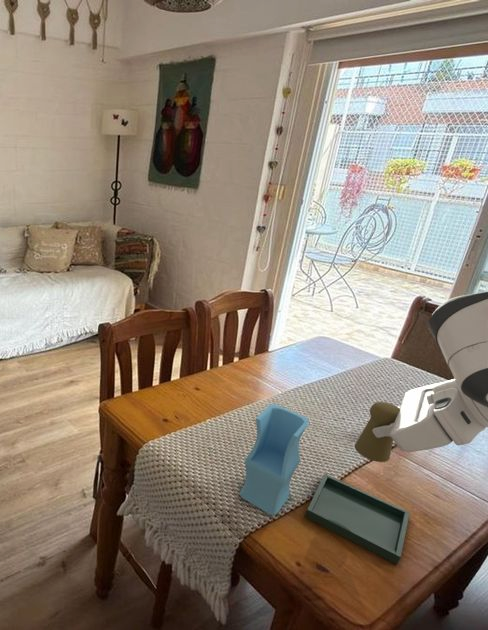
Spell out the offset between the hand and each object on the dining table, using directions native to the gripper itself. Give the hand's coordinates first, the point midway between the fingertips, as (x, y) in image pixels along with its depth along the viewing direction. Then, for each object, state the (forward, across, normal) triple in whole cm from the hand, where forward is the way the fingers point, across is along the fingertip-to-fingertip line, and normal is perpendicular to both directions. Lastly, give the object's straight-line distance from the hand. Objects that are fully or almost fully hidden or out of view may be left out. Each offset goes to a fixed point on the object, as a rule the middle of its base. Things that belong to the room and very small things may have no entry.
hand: (377, 426), depth 87 cm
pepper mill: (+4, 0, +5) cm, 6 cm away
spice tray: (+12, +6, +14) cm, 19 cm away
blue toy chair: (+23, +13, +3) cm, 27 cm away
